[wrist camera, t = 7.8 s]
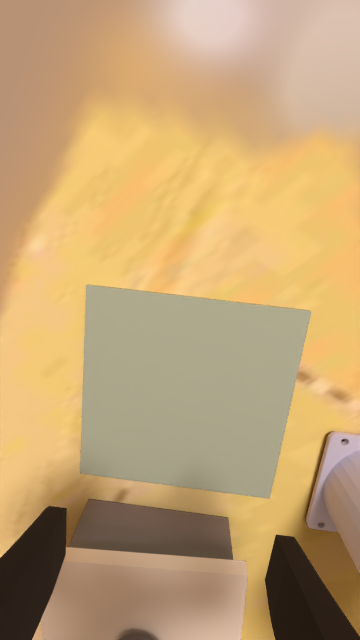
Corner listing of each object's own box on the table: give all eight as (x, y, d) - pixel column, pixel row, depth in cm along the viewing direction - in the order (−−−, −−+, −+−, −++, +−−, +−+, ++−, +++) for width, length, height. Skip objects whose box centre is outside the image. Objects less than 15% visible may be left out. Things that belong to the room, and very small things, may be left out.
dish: (228, 517, 22) (236, 584, 18) (209, 619, 25) (212, 700, 20) (88, 498, 22) (62, 560, 18) (84, 601, 25) (60, 677, 21)
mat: (308, 310, 18) (311, 311, 18) (268, 494, 22) (269, 498, 21) (88, 284, 19) (86, 285, 18) (82, 469, 22) (80, 473, 21)
